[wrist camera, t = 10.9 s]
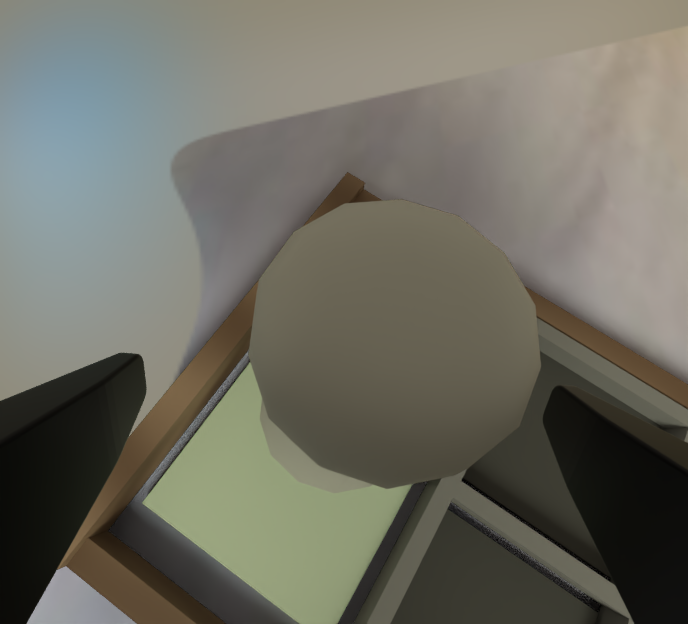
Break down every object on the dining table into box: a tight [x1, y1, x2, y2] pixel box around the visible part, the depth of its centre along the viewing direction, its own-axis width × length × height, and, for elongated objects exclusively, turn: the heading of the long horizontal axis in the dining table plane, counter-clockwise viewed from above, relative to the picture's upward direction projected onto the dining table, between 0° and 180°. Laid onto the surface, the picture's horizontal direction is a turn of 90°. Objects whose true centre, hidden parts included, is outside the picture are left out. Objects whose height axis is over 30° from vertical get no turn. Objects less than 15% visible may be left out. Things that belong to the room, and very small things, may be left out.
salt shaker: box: [248, 199, 541, 493], centre depth 11 cm, size 6×6×13 cm
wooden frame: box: [57, 172, 688, 624], centre depth 16 cm, size 19×30×2 cm, turn 57°
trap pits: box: [353, 318, 688, 624], centre depth 16 cm, size 17×9×2 cm, turn 147°
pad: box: [142, 362, 412, 624], centre depth 18 cm, size 14×8×1 cm, turn 147°
